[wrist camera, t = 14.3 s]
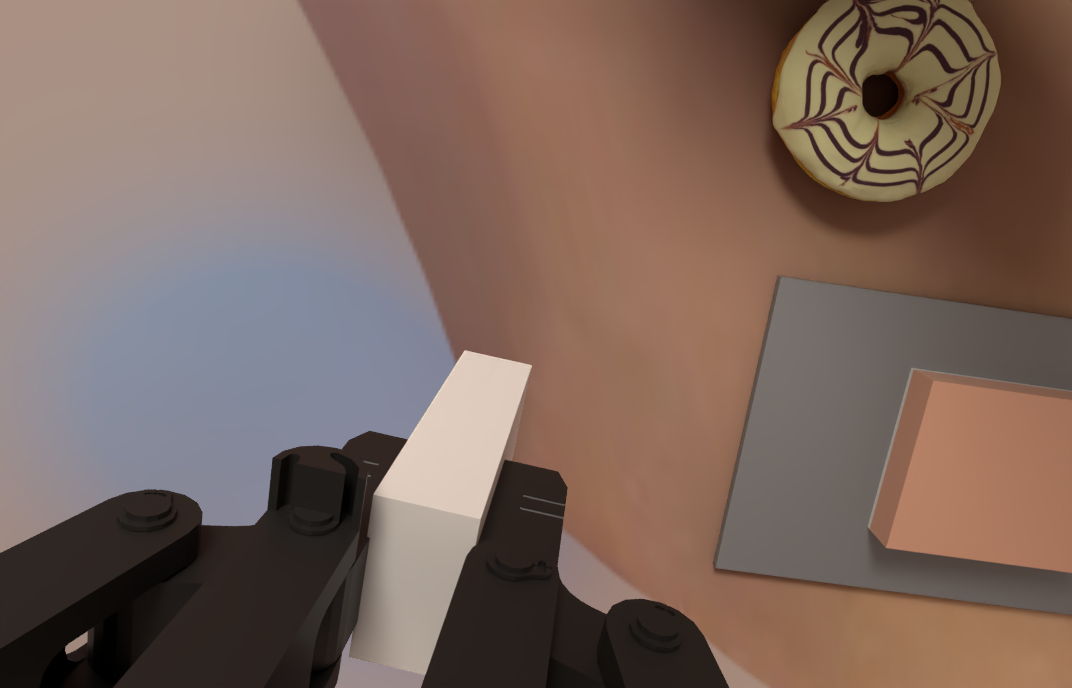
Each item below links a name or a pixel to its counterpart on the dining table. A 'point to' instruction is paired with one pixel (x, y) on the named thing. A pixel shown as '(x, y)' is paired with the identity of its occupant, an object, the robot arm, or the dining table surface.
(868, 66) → the decorated donut
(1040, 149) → the dining table surface
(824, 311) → the slate mat
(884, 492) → the terracotta tile
